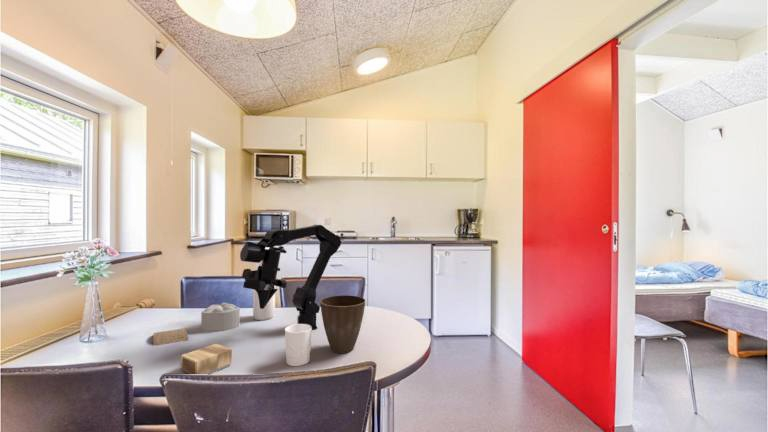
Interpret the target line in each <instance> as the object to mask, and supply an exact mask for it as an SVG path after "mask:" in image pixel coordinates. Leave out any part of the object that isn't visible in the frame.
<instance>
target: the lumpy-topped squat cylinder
mask: <svg viewBox="0 0 768 432" xmlns="http://www.w3.org/2000/svg"><path fill="white" fill-rule="evenodd" d="M240 312H241V311H240V307H239V306H238V305H234V304H233V303H228V302H221V303H220V304H217V303H216V304H210V305H209V306H207V307H206V308H205V309H202V310H201V313H200V314H201V319H200V320H201V321H200V323H201V324H200V325H201V326H200V330H201V332H205V333H207V332H208V333H214V332H224V331H229V330H233V329H237V328H238V327H240V320H241V319H240V318H241V316H240V315H241V313H240Z"/></svg>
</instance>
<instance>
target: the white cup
mask: <svg viewBox="0 0 768 432" xmlns="http://www.w3.org/2000/svg"><path fill="white" fill-rule="evenodd" d="M312 330H313V329H312V326H310V325H308V324H297V323H296V324H294V323H293V324H291V325H288V326H287V327H285V328H284V340H285V341H284V343H285V344H284V345H285V357H286V364H287V365H288V366H292V367H299V366H304V365H306V364H308V363H309V362H310V361H311V360H310V356H311V355H310V354H311V348H312V347H311V346H312V332H313V331H312Z"/></svg>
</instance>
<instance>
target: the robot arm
mask: <svg viewBox="0 0 768 432" xmlns="http://www.w3.org/2000/svg"><path fill="white" fill-rule="evenodd" d="M265 232H266V233H265V234H264V237H262V239H261V240H260V241H258V242H257V243H255V242H252V241H245V243H244V245H243V246H242V248H241V250H240V254H239V258H240V261H241V262H246V263H255V264H256V263H257V264H259V262H261V261H262V265H261V266H259V265H258V266H257V269H256V270H252V269H251V268H245V269H244V268H243V271H242V274H241V278H243V279H244V281H243V285H242V288H244V289H250V290H253V291H254V290H256V292H257V293H258V297H259V304H260V308H261V309H264V308H265V306H266V305H267V303H268V302H269V300H270V299H271V297H272V296H273V295H274V293H275V294H276V292H277V291H278V288H276V287H279V288H281V289H285V288H287V281H286V280H285V279H280V278H277V276H278V275H277V274H278V272H281V268H280V267H279V265H280V258H281V254H287V253H288V252H287V250H286V248H285V247H284V245H286V244H289V243H290V242H292V241H293V240H299V239H303V238H307V237H308V238H309V237H313V236H315V238H316V240H317V241H319V246H318V248H319V253H318V255H317V257H316V259H315V261H314V264H313V265H312V268H311V270H310V272H309V274H308V276H307V279H306V281H305V283H304V284H303V286H301V287H299V286H297V287H296V289H295V292H294V294H293V295H292V297H293V298H292V305H293V306H294V307H295V308H296V311H297V312H298V315H297V318H296V319H297V323H296V324H308V325H310V326H312V330H317V329H318V326H317V314H319V313H320V310H321V306H319V305H318V304H317V303H316V302H315V301H316V299H317V288H318V285H319V283H320V281H321V279H322V277H323V274H324V273H325V270H326V268H327V266H328V263H329V262H330V259H331V257H333V255H334V254H336V253H337V252H338V250H339V249H340V247H341V246H342V245H341V244H342V240H341V237H340V236H339V235H336V234H335V233H334V232H332V231H331V230H329V229H327V228H326V227H325V226H324V225H322V224H313V225H310V226H303V227H298V228H293V229H268V230H267V231H265ZM265 248H269V249H265ZM274 286H275V287H274ZM274 288H275V289H274Z"/></svg>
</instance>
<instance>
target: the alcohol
mask: <svg viewBox="0 0 768 432" xmlns="http://www.w3.org/2000/svg"><path fill="white" fill-rule="evenodd" d="M269 248H270V247H265V249H269ZM261 265H262V261H261V262H259V263H258V267H259V266H261ZM274 287H275V288H274V289H276V286H274ZM252 294H253V301H252V303H253V306H252V307H253V309H252V313H253V314H252V316H253V319H254V320H257V321H268V320H272V319H273V318H274V317H275V315H276V292H275V293H274V295H273V296H272V297H271V299H270V300H269V302H268V303H267V305H266V306H265V308H264V309H261V308H260V304H259V297H258V293H257V292H256V290H254V289H253V293H252Z"/></svg>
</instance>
